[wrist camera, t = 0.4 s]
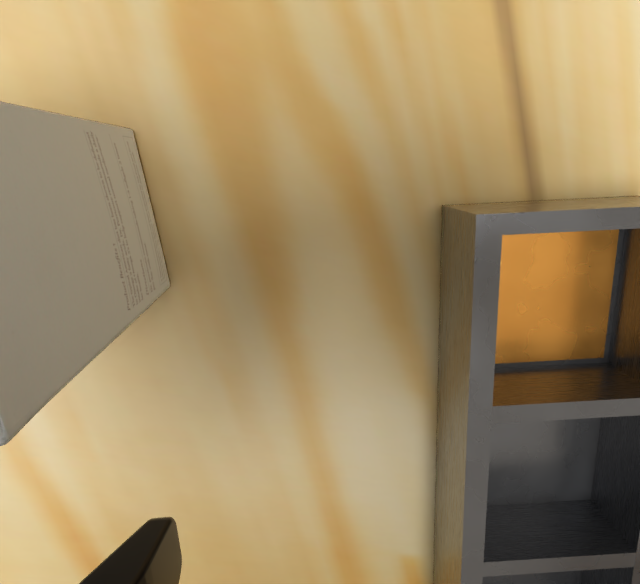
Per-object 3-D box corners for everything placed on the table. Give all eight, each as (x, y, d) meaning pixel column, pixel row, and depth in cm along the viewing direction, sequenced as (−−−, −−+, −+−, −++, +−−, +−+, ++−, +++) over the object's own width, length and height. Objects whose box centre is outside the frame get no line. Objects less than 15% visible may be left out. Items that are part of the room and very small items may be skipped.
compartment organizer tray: (588, 612, 28) (639, 691, 23) (432, 623, 27) (455, 704, 23) (644, 195, 21) (726, 202, 17) (442, 205, 21) (476, 214, 17)
